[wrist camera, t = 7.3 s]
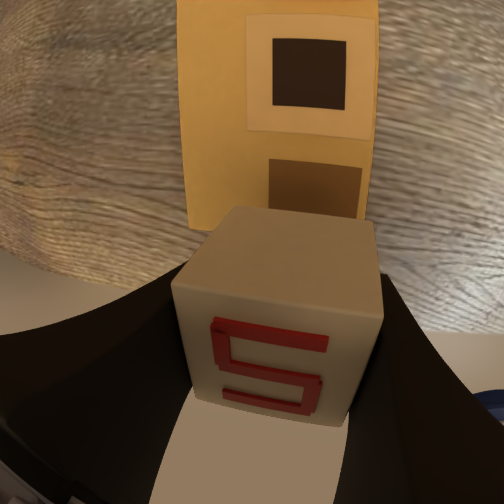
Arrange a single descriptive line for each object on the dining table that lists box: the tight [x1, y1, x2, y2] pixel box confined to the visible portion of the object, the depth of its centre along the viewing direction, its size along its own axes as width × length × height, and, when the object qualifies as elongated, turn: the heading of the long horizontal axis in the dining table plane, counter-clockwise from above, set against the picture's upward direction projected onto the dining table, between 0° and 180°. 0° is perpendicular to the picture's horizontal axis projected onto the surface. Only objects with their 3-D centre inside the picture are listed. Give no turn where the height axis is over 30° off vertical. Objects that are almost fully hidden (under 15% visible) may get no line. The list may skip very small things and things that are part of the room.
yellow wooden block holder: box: [177, 0, 379, 231], centre depth 9 cm, size 22×9×5 cm, turn 0°
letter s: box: [171, 205, 384, 427], centre depth 8 cm, size 4×4×4 cm
